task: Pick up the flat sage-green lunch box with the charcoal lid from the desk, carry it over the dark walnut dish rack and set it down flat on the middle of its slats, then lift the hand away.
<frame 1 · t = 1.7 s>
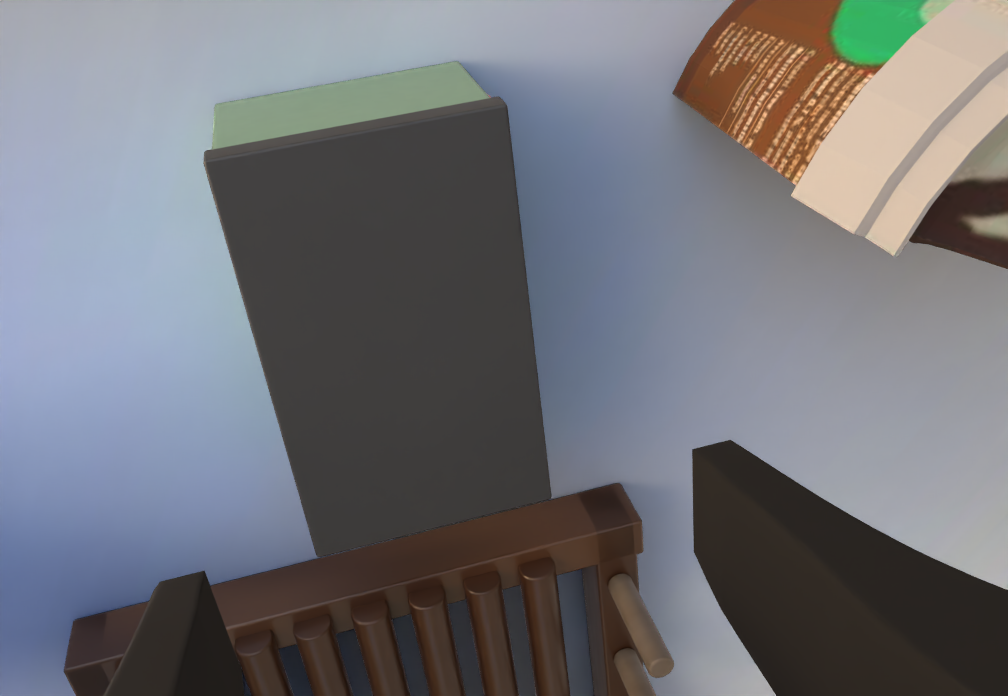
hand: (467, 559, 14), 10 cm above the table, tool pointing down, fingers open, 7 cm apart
lunch box: (377, 271, 23), on the table
food container: (888, 24, 23), on the table
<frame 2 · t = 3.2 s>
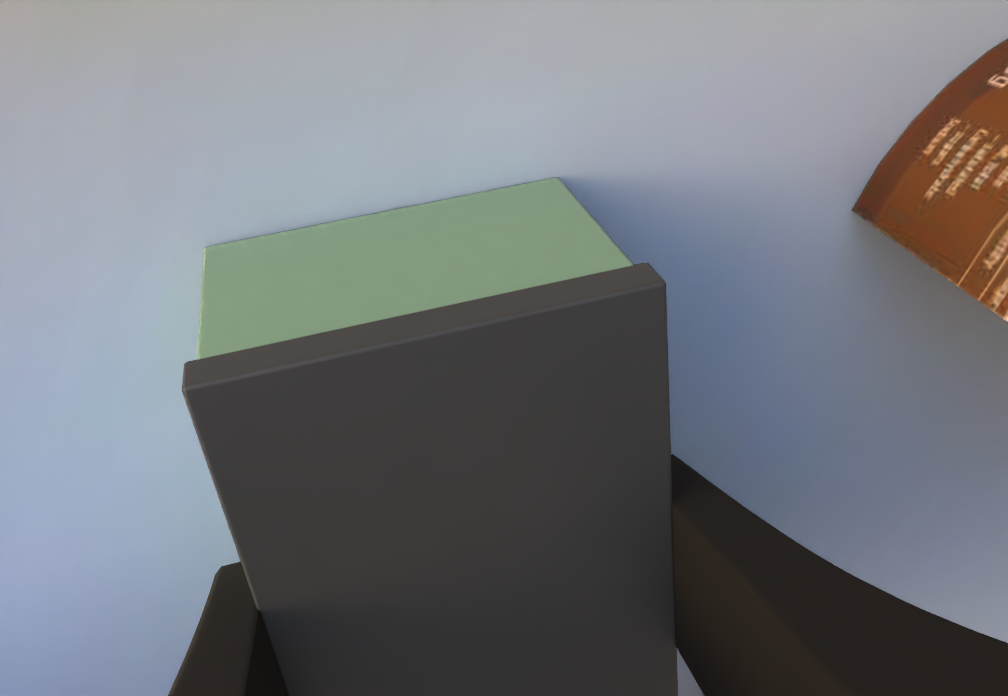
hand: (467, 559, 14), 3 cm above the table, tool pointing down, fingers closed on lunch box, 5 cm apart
lunch box: (432, 457, 16), on the table, touching gripper
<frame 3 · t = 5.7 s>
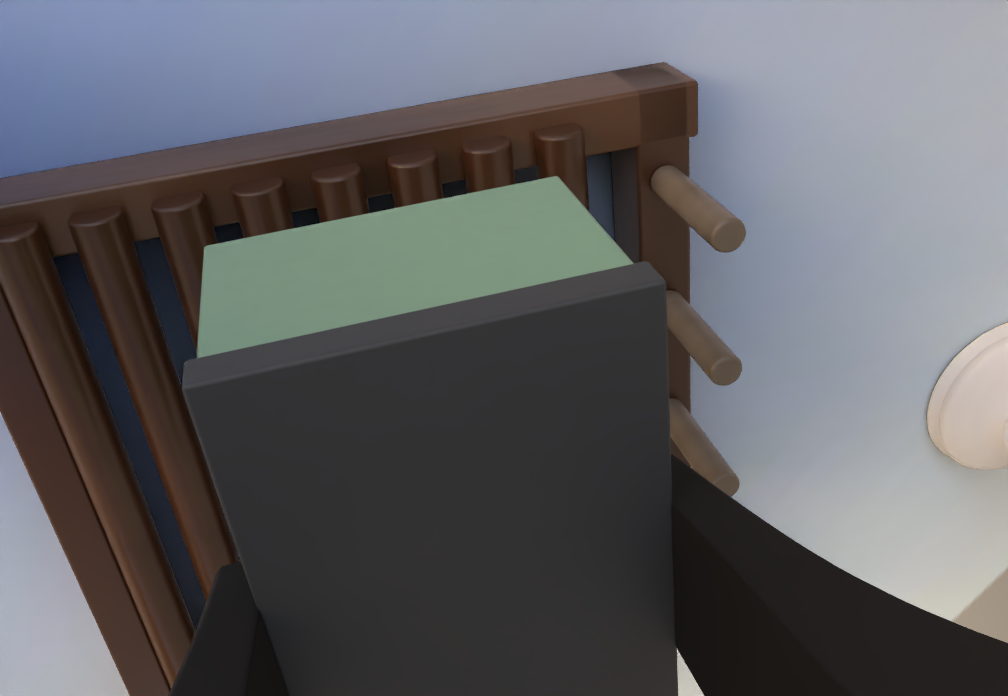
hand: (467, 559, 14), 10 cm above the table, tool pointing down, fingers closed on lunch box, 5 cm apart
chess piece: (996, 387, 29), on the table
lunch box: (432, 456, 16), point 7 cm above the table, touching gripper
dish rack: (386, 430, 24), on the table
when the fingers open (5 cm above the table, at t = 8.0 s): lunch box stays where it is, resting on dish rack.
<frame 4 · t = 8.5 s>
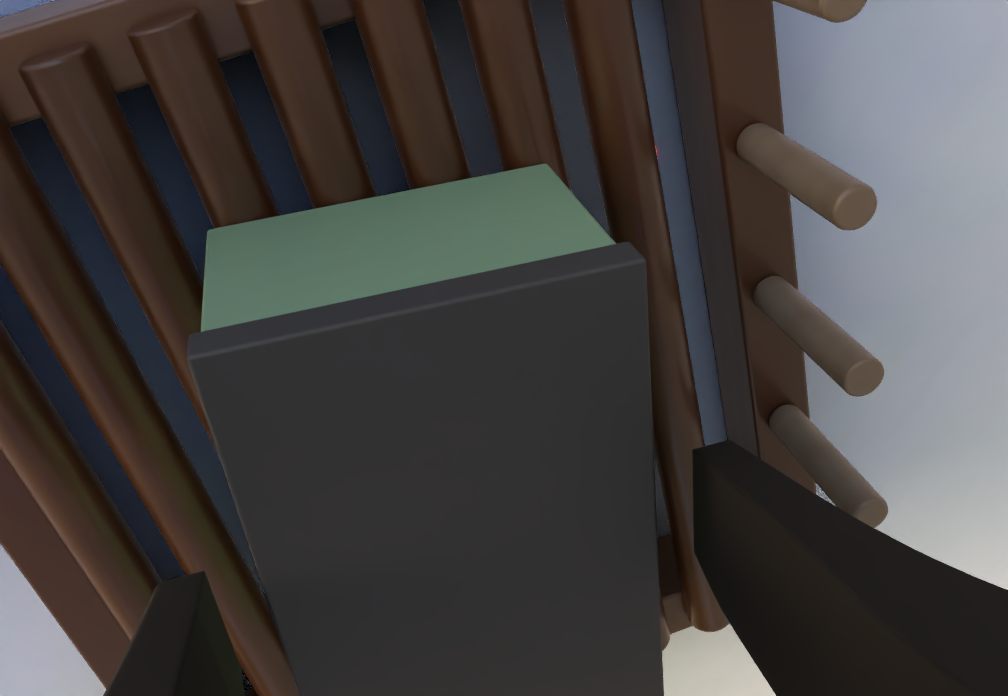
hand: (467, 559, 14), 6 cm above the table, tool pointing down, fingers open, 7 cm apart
lunch box: (427, 435, 17), point 3 cm above the table, touching dish rack
dish rack: (407, 363, 19), on the table
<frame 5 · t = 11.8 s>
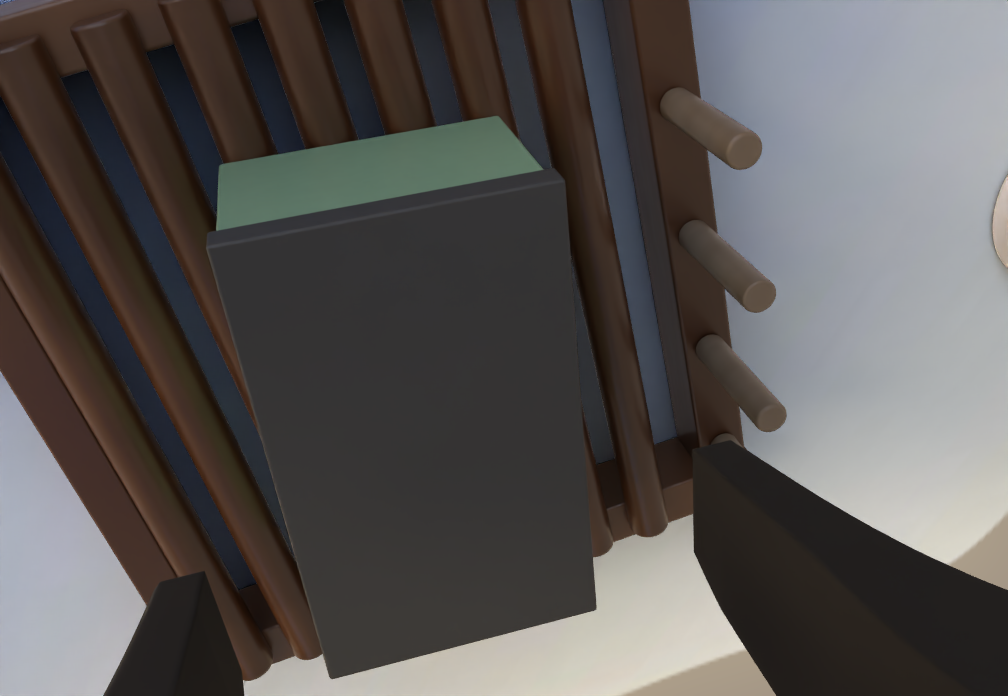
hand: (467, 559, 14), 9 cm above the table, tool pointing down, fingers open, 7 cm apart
lunch box: (400, 348, 20), point 2 cm above the table, touching dish rack
dish rack: (385, 295, 22), on the table
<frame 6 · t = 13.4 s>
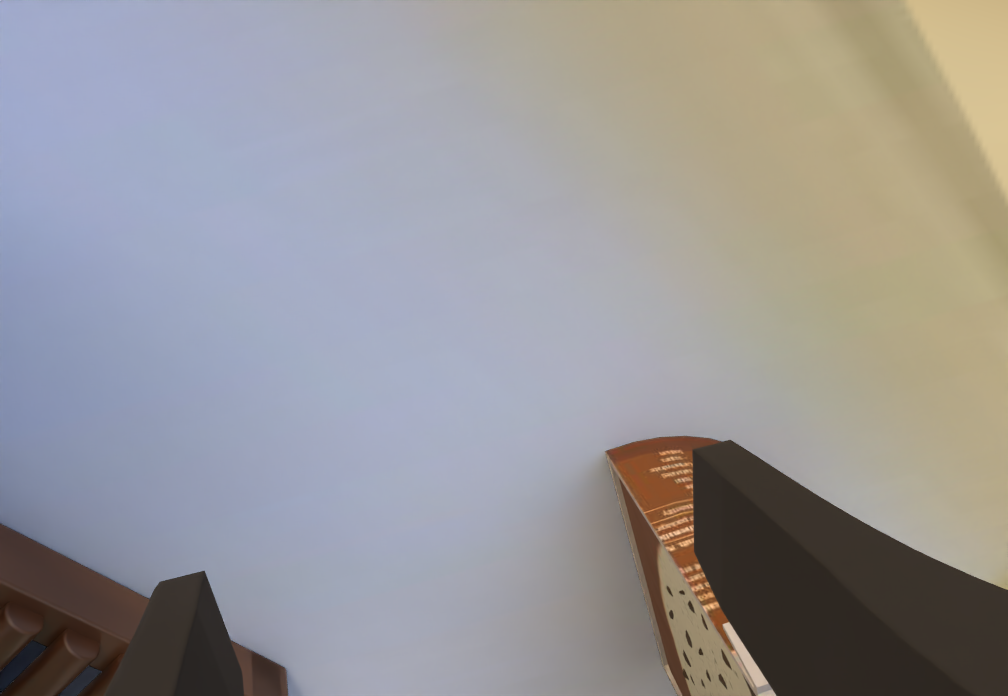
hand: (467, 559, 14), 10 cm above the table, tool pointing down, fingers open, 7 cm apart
food container: (726, 526, 29), on the table
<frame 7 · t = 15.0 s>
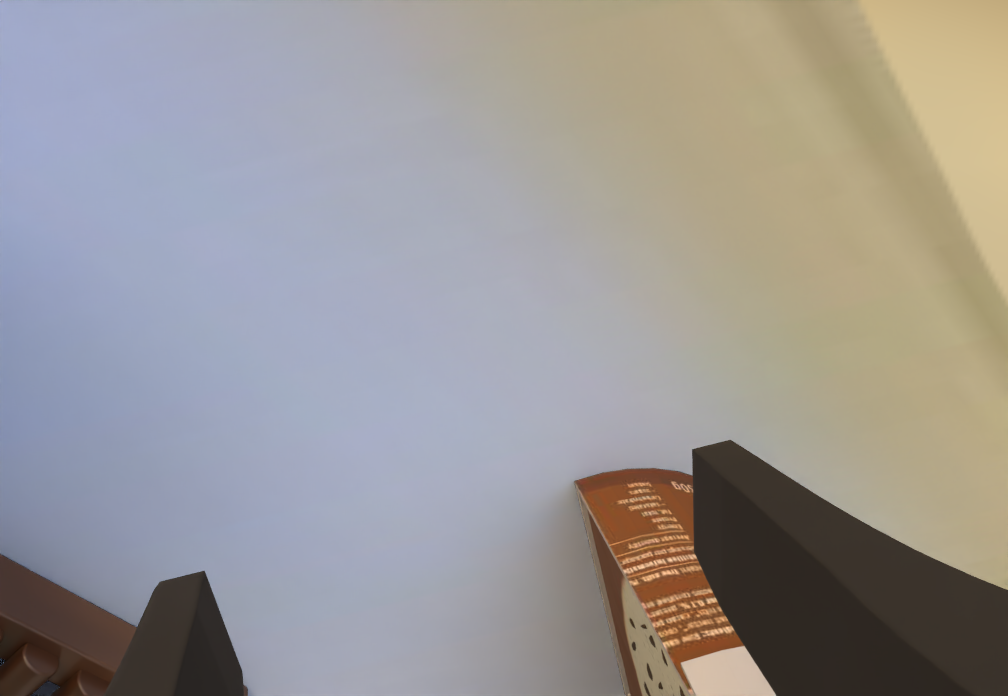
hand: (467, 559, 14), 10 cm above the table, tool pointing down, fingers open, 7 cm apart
food container: (692, 558, 30), on the table
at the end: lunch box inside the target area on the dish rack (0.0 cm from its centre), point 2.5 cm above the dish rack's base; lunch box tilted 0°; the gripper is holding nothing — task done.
